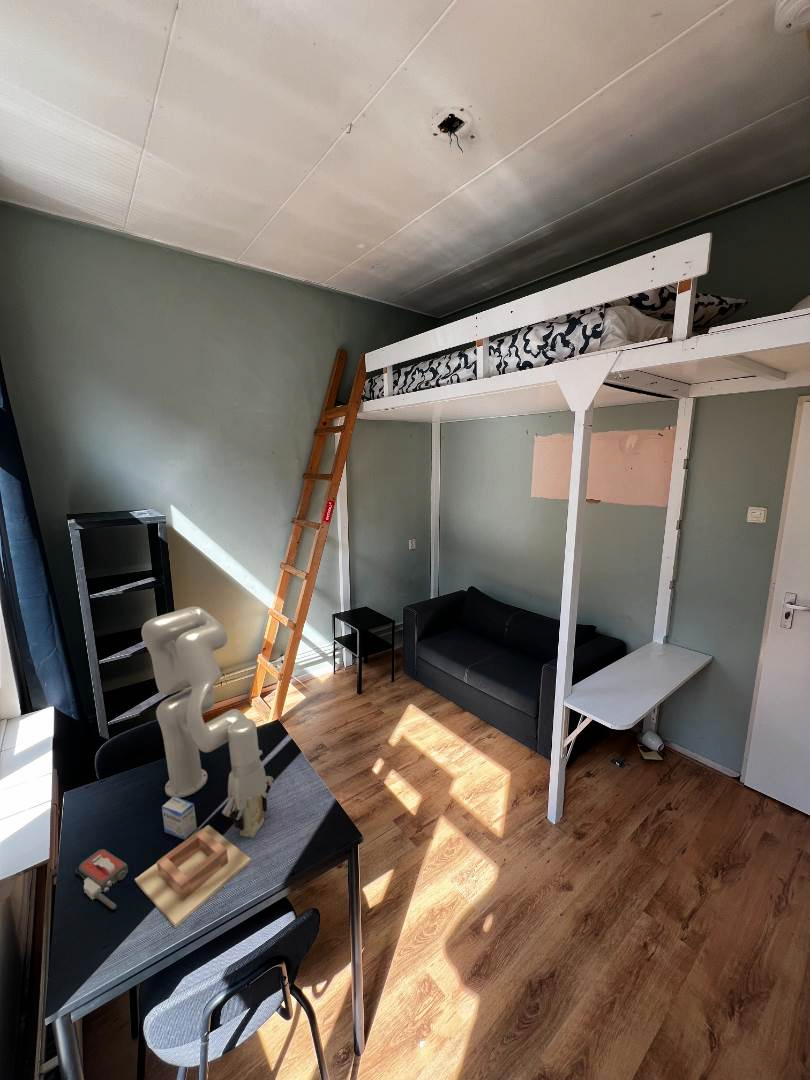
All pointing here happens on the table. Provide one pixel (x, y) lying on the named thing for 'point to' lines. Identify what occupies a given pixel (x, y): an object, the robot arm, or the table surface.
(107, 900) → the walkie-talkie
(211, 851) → the socket stand
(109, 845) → the table surface
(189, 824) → the medicine box
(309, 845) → the table surface
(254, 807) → the skincare box
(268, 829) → the table surface
